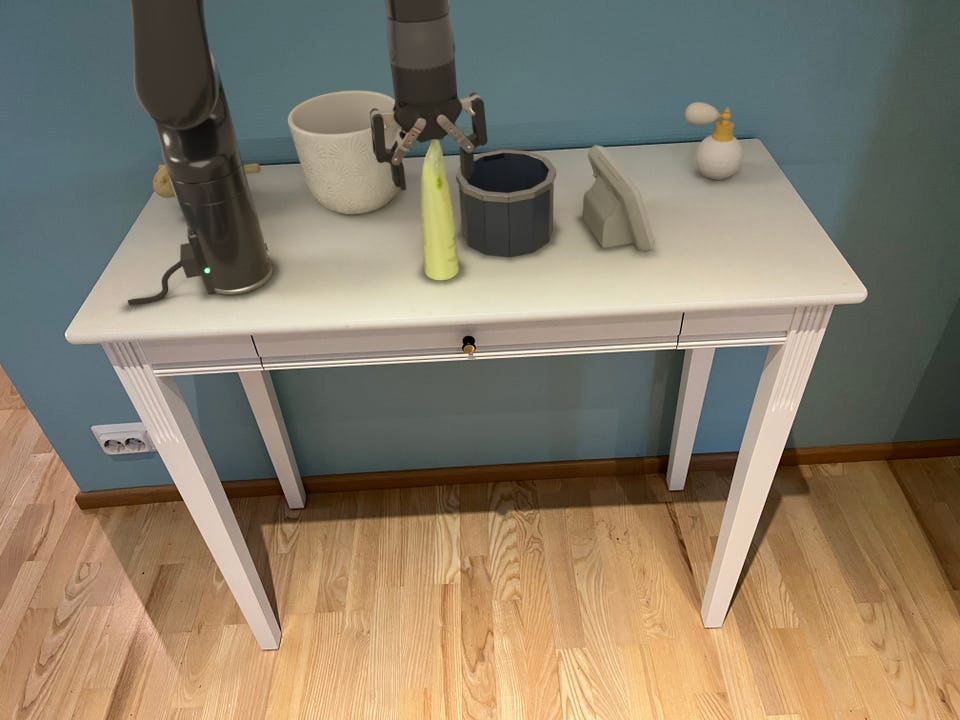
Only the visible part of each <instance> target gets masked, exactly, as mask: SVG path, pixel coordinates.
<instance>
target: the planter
mask: <svg viewBox="0 0 960 720" xmlns="http://www.w3.org/2000/svg"><path fill="white" fill-rule="evenodd" d="M394 104H395V98H393V97H391V96H389V95H387V94H384V93H381V92H377V91H372V90H371V91H370V90H341V91H335V92H329V93H325V94H324V93H323V94H321V95H318V96H314V97H311V98H308V99H307V100H304V101H302V102H300V103H299V104H297V105H296V106H295V107H294V108H293V109H292V110H291V111H290V113H289V114H288V116H287V123H288V127H289V130H290V133H291V137H292V140H293V143H294V146H295V149H296V154H297V157H298V160H299V163H300V167H301V170H302V173H303V177H304V179H305V183H306V185H307V186H308V189H309V191H310V193H311V194H312V196H313V197H314V198H315V199H316V201H317V202H318V203H319V204H321V205H322V206H323V207H324V208H326V209H328V210H330V211H332V212H334V213H339V214H344V215H362V214H368V213H371V212H373V211H374V212H375V211H376V210H378V209H380V208H382V207H384V206H386V205H387V204H388V203H389V202H390V201H392V199H394V197H395V195H396V194H397V192H398V191H399V189H400V188H399V187H396V186H395V184H394V182H393V180H392V173H391V166H390V163H388V162H384V163H379V162H378V161H377V159H376V156H375V154H374V152H373V143H372V132H371V120H370V111H371V110H372V109H373V108H377V109H378V110H379V111H386V110H393V107H394ZM399 129H400V126H399V125H398V124H397V123H396V122H395V120H393V121H391V122H390V125H389V128H388V129H387V130H384V134H385V148H386V149H390V147H391V145H392V144H393V142H394V140H395V136H396V134H397V132H398V130H399Z"/></svg>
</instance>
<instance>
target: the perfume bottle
mask: <svg viewBox="0 0 960 720" xmlns="http://www.w3.org/2000/svg"><path fill="white" fill-rule="evenodd" d="M730 112H731V109H730V107H729V106H727V107H726V108H725V109H724V112H723V113H722V114H721V113H720V112H719V111H718V109H717V108H716V107H714V106H713V105H710V104H709V103H706V102H701V101H696V102H692V103H690V104H689V105H688V106H687V107H686V109H685V111H684V118H685V120H686V122H687V123H689V124H690V125H693V126H706V125H709V124H712V123H714V122H715V121H716V122H715V123H714V129H713V132H712V134H710V135H708V136H707V137H705V138H704V139H703V140H702V141H701V142H700V143H699V145H698V146H697V148H696V150H695V151H696V152H695V154H694V155H695V156H694V157H695V158H694V159H695V160H694V163H695V166H696V169H697V170H698V172H700V174H701V175H702V176H704V177H705V178H708V179H710V180H716V181H720V180H726V179H728V178H730V177H732V176H733V175H734V174H736V173H737V172H738V170H739V169H740V168H741V165H742V162H743V160H744V150H743V147H742V144H741V142H740V141H739V140H738V139H737V137H735V136H734V128H735V124H734V122H733V121H732V122H731V121H729V120H731V118H732V113H730ZM720 118H721V119H722V120H718V119H720ZM717 120H718V121H717Z"/></svg>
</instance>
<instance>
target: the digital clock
mask: <svg viewBox="0 0 960 720" xmlns="http://www.w3.org/2000/svg"><path fill="white" fill-rule="evenodd" d="M587 157H588V160H589V164H590V166H591V169H592V173H593V174H592V177H593V178H595V180H594V183H592V186H591V187H590V188H589V189H588V190H587V191H585V192H584V195H583V201H582V203H583V204H582V215H581V216H582V220H583V221H584V223H585V224H586V225H587V227H588V228H589V230H590V231H591V233H592V235H593V236H594V237H595V239H596V240H597V242H598V243H599V244H600V246H601V247H602V248H603V249H605V248H606V249H607V248H613V247H618V246H623V245H624V246H625V245H629V244H634V246H635V247H636V248H637V249H638V251H642V252H650V251H652V250H653V247H654V246H655V237H654V234H653V231H652V230H653V229H652V227H651V223H650V220H649V217H648V214H647V209H646V206H645V204H644V200H643V197H642V193H641V191H640V188H638V186H637V185H636V183H635V182H634V181H633V180H632V179H631V178H630V176H629V175H628V174H627V173H626V172H625V171H624V169H623V168H622V167H621V166H620V165H619V164H618V162H617V161H616V160H615V159H614V157H613V156H612V155H611V154H610V153H609V152H608V151H607V150H606V148H605V147H604V146H602V145H597V144H594V145H593V146H592V147H590V148H589V150H588V152H587Z"/></svg>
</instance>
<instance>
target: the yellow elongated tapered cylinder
mask: <svg viewBox="0 0 960 720" xmlns="http://www.w3.org/2000/svg"><path fill="white" fill-rule="evenodd" d="M444 159H445V158H444V155H443V150H442V146H441V142H440V140H435V139H431V142H430V144H429V148H428V150H427V152H426V154H425V157H424V161H423V165H422V169H421V183H420V185H421V188H420V220H421V221H420V222H421V240H422V255H423V265H424V267H423V268H424V273H425V275H426V276H427V277H428V279H431V280H435V281H446V280H447V281H448V280H451V279H453V278H454V277H456V276H457V275H458V273H459V271H460V267H459V263H460V262H459V255H458V254H459V253H458V245H457V244H458V243H457V235H456V227H455V217H454V212H453V205H452V197H451V192H450V191H451V190H450V185H449V180H448V174H447V168H446V164H445V160H444Z"/></svg>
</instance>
